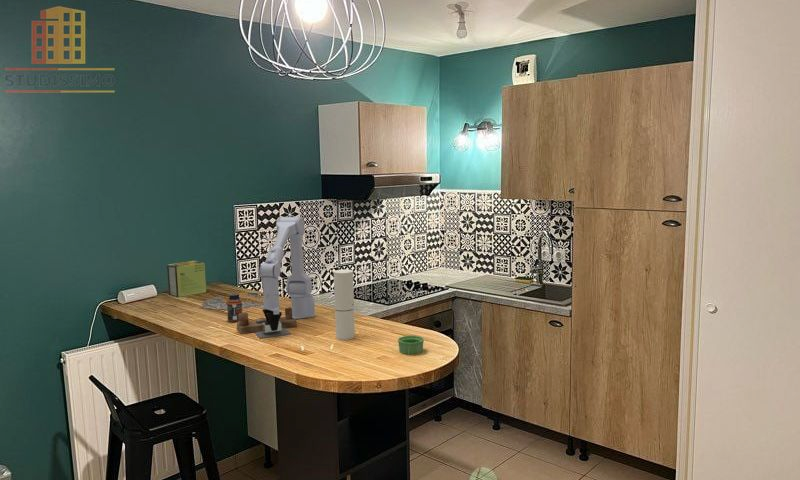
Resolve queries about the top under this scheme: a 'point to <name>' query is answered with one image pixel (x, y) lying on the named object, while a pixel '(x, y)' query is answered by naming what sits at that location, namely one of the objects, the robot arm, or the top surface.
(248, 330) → the body
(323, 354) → the top surface
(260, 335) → the rubber mat
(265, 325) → the light switch plate
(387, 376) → the top surface
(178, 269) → the protein box
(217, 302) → the worn metal disc
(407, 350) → the ramekin
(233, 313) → the supplement bottle
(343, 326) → the cylindrical container
